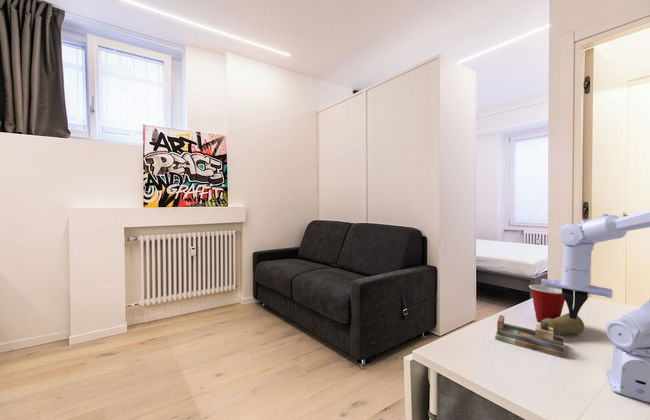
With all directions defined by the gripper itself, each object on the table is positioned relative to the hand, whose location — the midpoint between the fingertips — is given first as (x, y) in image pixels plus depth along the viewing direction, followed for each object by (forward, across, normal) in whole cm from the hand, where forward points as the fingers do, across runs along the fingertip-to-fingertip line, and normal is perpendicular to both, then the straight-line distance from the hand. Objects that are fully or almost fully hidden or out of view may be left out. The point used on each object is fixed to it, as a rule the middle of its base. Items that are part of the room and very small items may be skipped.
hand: (572, 317), depth 80 cm
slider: (+8, +6, 0) cm, 10 cm away
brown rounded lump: (+7, -1, -16) cm, 17 cm away
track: (+10, +10, 0) cm, 14 cm away
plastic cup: (+10, +6, -20) cm, 23 cm away
